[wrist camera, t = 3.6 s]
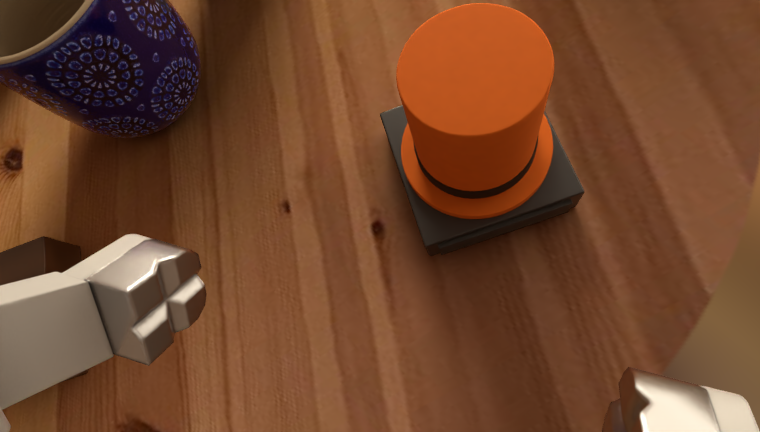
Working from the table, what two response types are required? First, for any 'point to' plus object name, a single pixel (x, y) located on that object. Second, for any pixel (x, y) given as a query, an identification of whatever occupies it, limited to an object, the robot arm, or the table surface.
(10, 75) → the planter
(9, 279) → the plinth
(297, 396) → the table surface
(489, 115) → the hat
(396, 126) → the grey square pedestal
